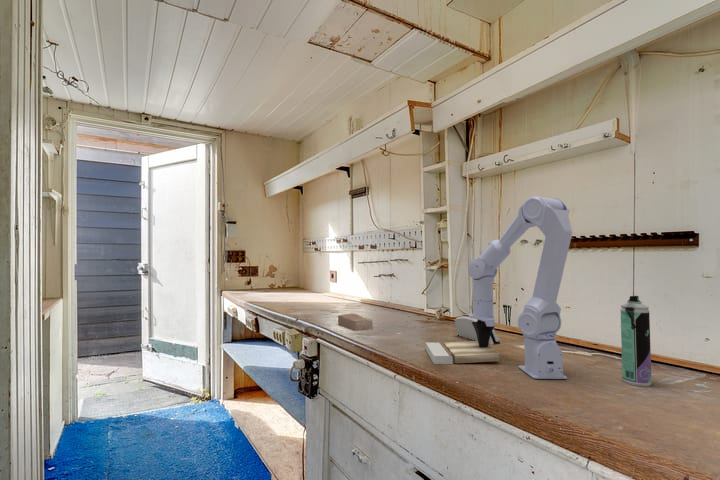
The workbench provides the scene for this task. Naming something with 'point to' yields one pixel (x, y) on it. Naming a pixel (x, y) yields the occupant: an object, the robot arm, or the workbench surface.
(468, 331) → the grey curved block
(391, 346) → the workbench surface
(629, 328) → the spray can
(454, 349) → the brass metal plate
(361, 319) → the brick
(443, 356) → the board
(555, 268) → the robot arm
